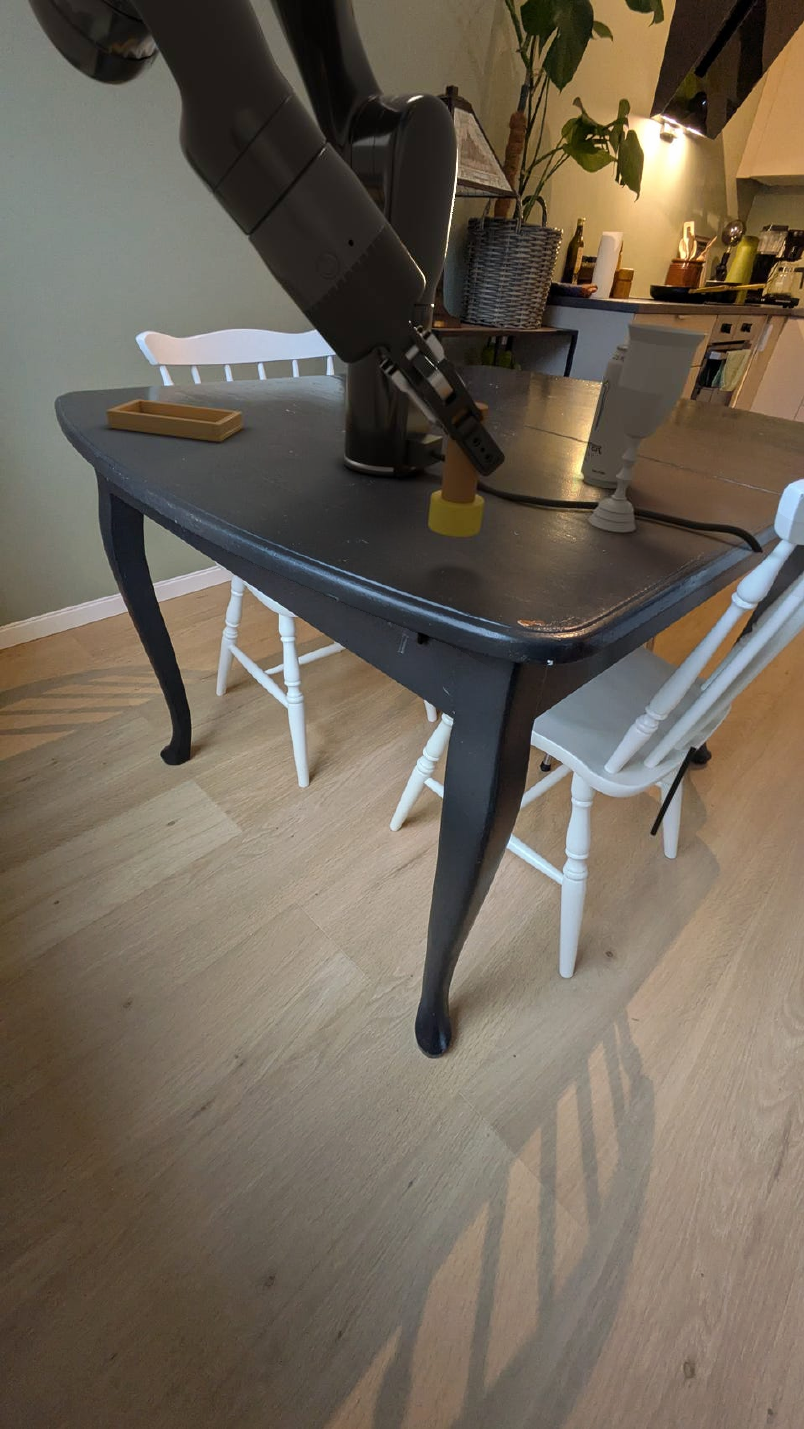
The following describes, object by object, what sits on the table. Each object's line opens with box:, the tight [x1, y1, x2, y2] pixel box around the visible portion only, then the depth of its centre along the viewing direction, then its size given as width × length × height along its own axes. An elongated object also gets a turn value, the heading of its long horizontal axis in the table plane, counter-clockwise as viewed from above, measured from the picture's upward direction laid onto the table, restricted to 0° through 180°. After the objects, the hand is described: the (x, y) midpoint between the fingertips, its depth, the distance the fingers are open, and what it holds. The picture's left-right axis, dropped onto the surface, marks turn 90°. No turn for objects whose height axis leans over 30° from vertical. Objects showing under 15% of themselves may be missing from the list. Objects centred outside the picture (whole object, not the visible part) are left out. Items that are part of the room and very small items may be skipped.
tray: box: [106, 398, 243, 443], centre depth 84 cm, size 15×8×2 cm, turn 81°
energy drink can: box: [580, 344, 630, 490], centre depth 76 cm, size 6×6×15 cm
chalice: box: [587, 323, 708, 533], centre depth 62 cm, size 7×7×18 cm
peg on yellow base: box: [427, 401, 489, 538], centre depth 50 cm, size 4×4×10 cm
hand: (486, 460), depth 50 cm, fingers closed on peg on yellow base, 3 cm apart
